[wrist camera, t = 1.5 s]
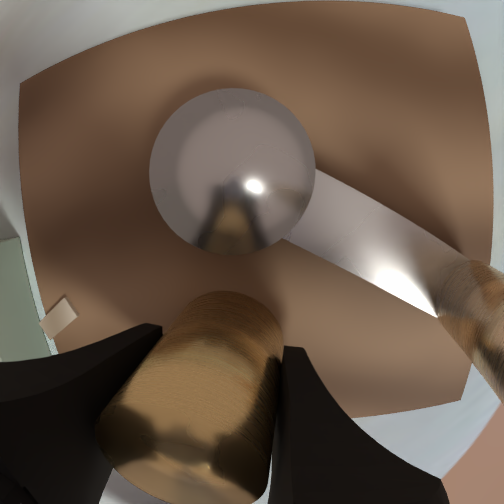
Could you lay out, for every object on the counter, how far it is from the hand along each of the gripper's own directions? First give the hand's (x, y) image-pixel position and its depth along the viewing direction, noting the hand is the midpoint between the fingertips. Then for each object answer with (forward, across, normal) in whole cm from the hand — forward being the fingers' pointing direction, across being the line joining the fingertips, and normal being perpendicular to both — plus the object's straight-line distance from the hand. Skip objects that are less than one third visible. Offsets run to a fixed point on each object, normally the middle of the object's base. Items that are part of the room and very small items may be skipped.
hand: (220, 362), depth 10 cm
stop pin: (+1, 0, 0) cm, 1 cm away
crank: (+1, -3, -5) cm, 6 cm away
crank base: (+2, 0, -4) cm, 5 cm away
